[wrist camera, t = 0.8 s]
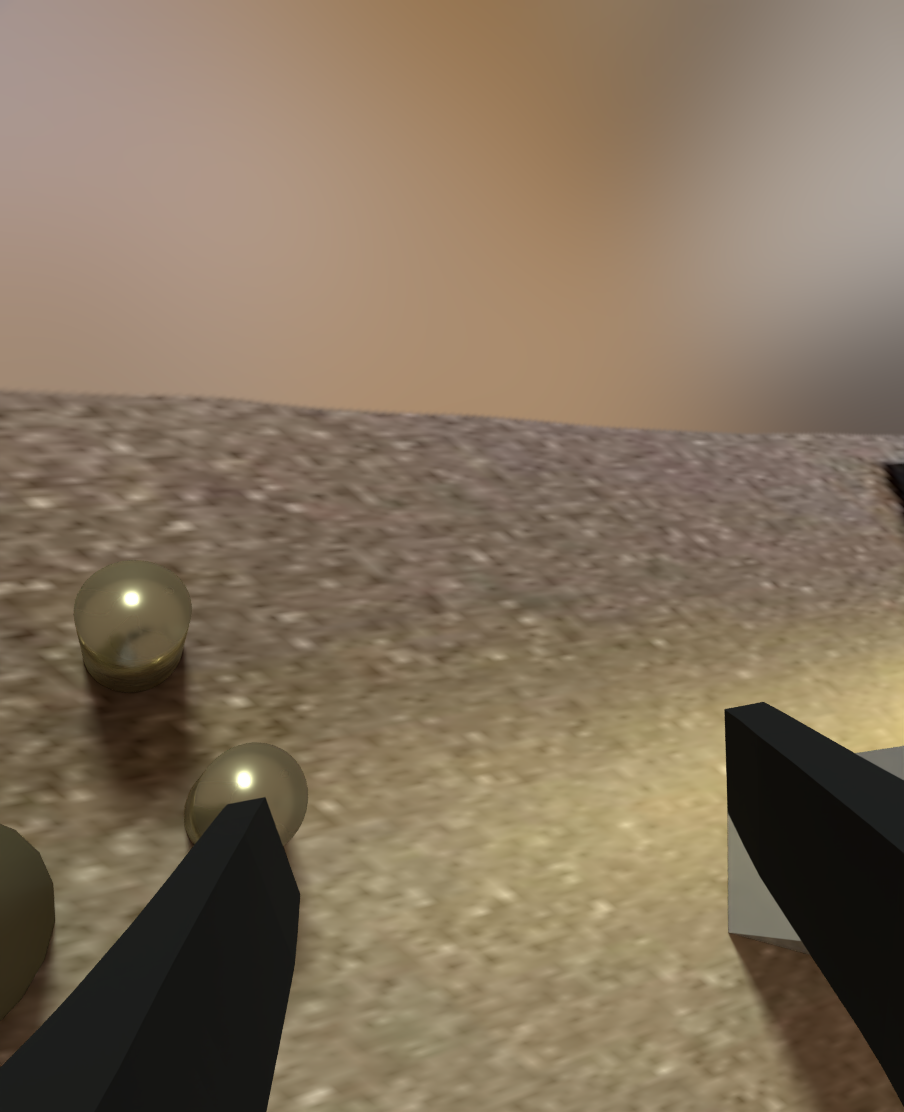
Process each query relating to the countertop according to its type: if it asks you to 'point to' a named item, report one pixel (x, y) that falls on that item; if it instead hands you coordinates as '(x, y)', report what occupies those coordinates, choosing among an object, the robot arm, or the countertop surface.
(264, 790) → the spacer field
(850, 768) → the robot arm
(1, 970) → the cork
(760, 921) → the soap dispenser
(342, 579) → the countertop surface
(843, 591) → the countertop surface
